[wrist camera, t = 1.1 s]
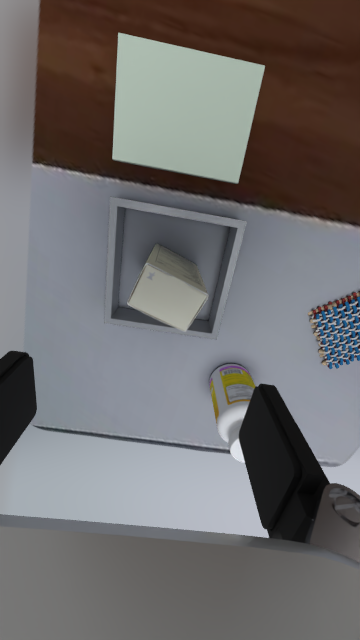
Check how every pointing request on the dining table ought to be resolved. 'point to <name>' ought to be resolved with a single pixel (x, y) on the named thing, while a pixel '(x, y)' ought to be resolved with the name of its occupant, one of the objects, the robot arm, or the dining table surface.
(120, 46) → the pad
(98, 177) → the dining table surface
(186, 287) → the skincare box
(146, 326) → the bin
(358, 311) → the woven mat
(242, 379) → the supplement bottle
